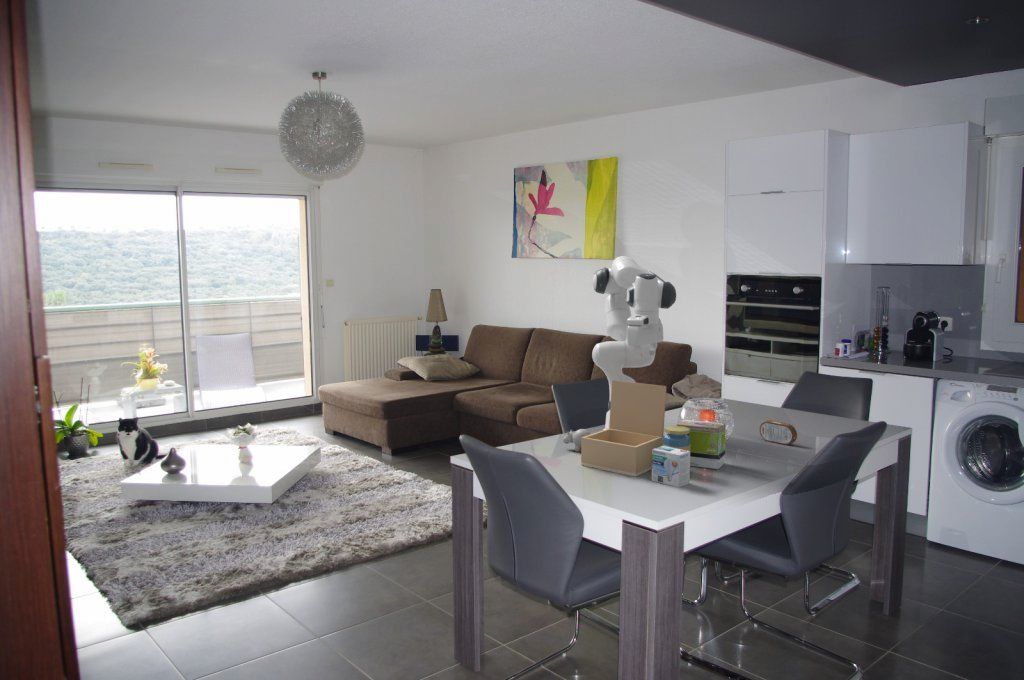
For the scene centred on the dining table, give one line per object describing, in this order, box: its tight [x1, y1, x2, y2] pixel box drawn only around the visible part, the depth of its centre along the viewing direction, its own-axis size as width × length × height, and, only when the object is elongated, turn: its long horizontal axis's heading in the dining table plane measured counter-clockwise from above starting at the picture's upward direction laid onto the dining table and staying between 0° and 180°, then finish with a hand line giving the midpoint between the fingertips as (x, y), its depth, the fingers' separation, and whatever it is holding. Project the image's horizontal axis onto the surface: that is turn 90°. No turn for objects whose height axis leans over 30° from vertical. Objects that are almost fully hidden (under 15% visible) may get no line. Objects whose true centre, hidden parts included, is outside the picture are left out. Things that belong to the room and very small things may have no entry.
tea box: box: [676, 419, 726, 470], centre depth 260 cm, size 15×10×15 cm
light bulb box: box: [651, 445, 691, 488], centre depth 240 cm, size 11×7×11 cm, turn 45°
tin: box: [759, 419, 798, 446], centre depth 290 cm, size 15×3×8 cm, turn 40°
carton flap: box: [609, 380, 667, 438], centre depth 268 cm, size 18×22×5 cm
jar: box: [662, 425, 691, 451], centre depth 251 cm, size 9×9×15 cm
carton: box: [580, 429, 663, 477], centre depth 260 cm, size 18×22×10 cm
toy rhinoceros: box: [562, 428, 592, 453], centre depth 281 cm, size 7×12×8 cm, turn 57°
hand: (645, 356), depth 269 cm, fingers open, 8 cm apart
